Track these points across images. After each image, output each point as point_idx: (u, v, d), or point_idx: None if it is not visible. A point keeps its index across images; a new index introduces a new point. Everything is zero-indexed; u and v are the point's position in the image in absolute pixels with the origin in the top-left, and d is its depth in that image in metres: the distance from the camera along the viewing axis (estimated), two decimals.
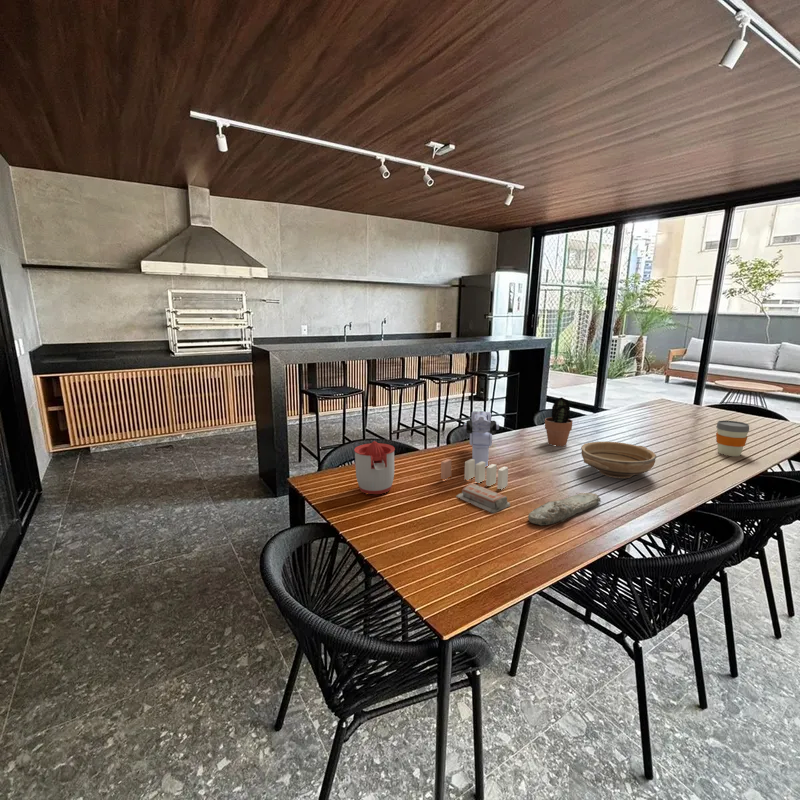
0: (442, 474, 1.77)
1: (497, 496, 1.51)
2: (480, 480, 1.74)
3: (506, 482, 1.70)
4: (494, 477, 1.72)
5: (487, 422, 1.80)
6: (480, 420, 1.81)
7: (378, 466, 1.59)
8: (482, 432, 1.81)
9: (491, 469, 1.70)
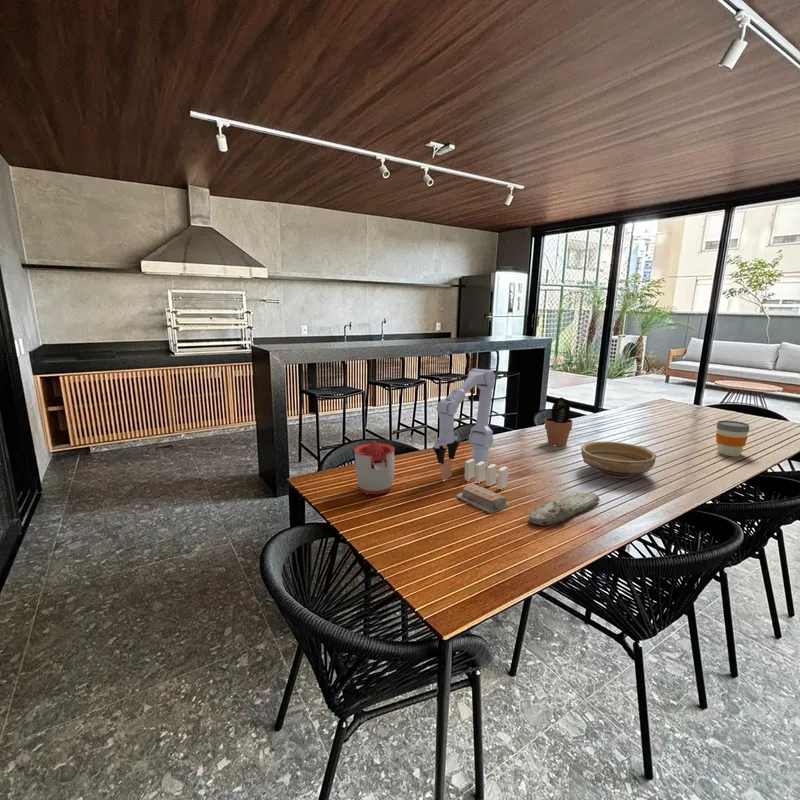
0: (442, 474, 1.77)
1: (495, 497, 1.51)
2: (480, 480, 1.74)
3: (506, 482, 1.70)
4: (494, 477, 1.72)
5: None
6: None
7: (378, 466, 1.59)
8: (450, 442, 1.74)
9: (491, 469, 1.70)
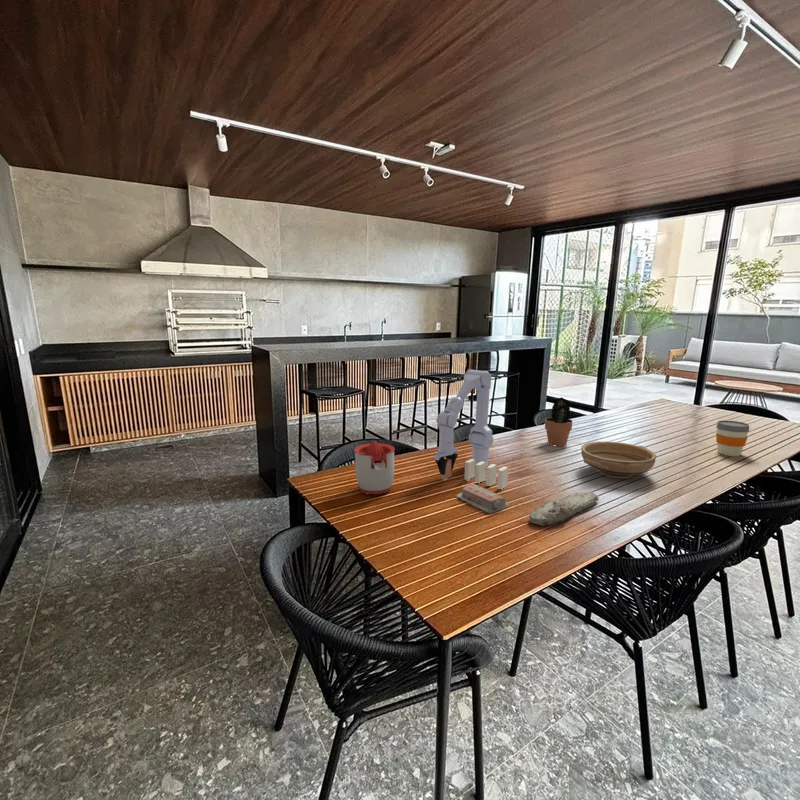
0: None
1: (495, 497, 1.51)
2: (480, 480, 1.74)
3: (506, 482, 1.70)
4: (494, 477, 1.72)
5: None
6: None
7: (378, 466, 1.59)
8: (450, 454, 1.75)
9: (491, 469, 1.70)
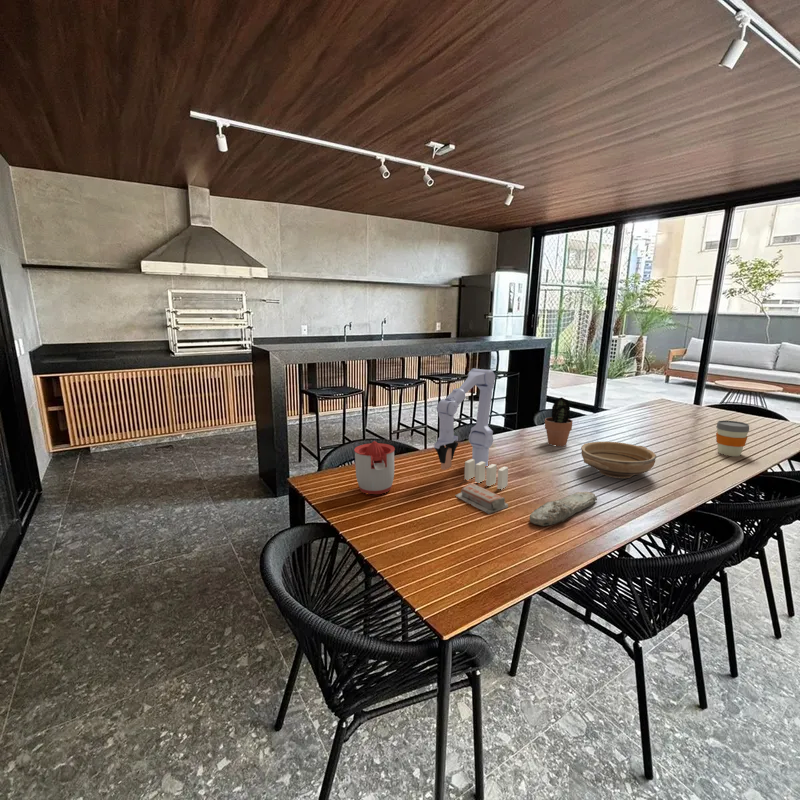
0: (442, 463, 1.76)
1: (494, 497, 1.50)
2: (480, 480, 1.74)
3: (506, 482, 1.70)
4: (494, 477, 1.72)
5: None
6: None
7: (378, 466, 1.59)
8: (451, 442, 1.74)
9: (491, 469, 1.70)
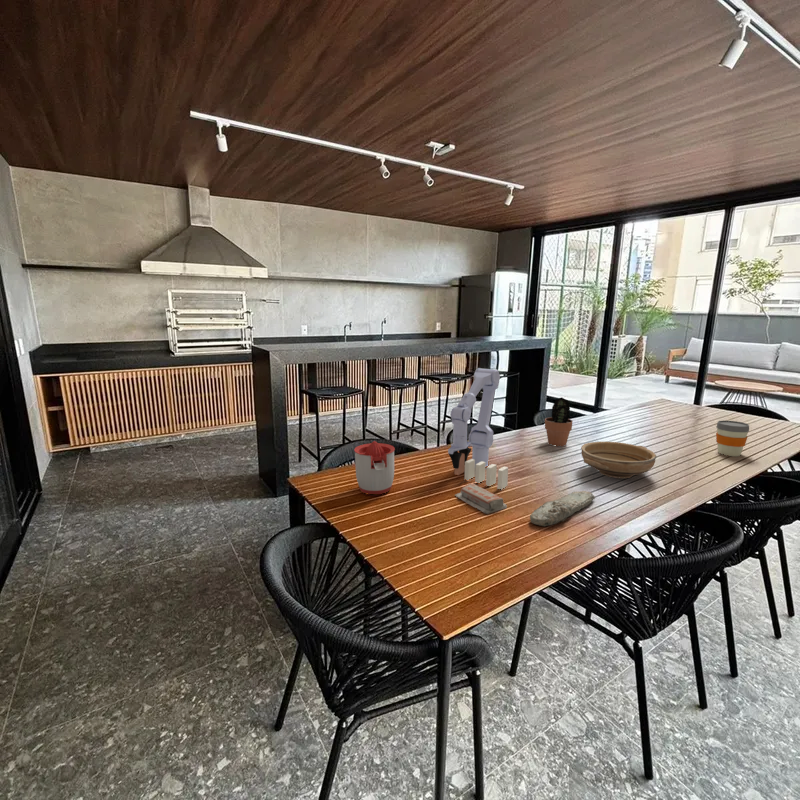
0: (455, 468, 1.80)
1: (492, 498, 1.50)
2: (480, 480, 1.74)
3: (506, 482, 1.70)
4: (494, 477, 1.72)
5: None
6: None
7: (378, 466, 1.59)
8: (464, 448, 1.78)
9: (491, 469, 1.70)
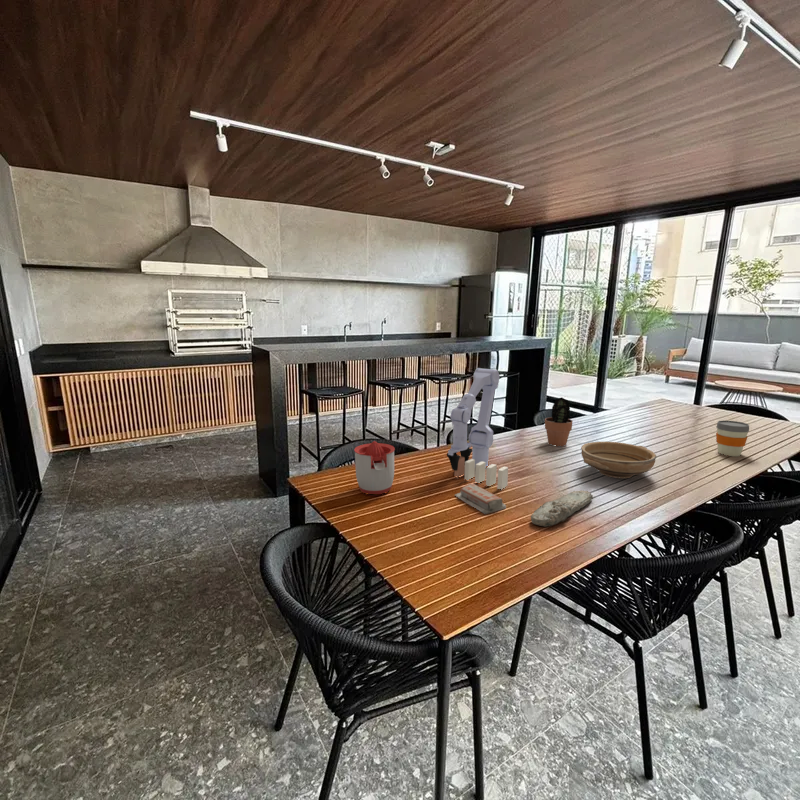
0: (455, 472, 1.80)
1: (491, 498, 1.50)
2: (480, 480, 1.74)
3: (506, 482, 1.70)
4: (494, 477, 1.72)
5: None
6: None
7: (378, 466, 1.59)
8: (464, 449, 1.78)
9: (491, 469, 1.70)
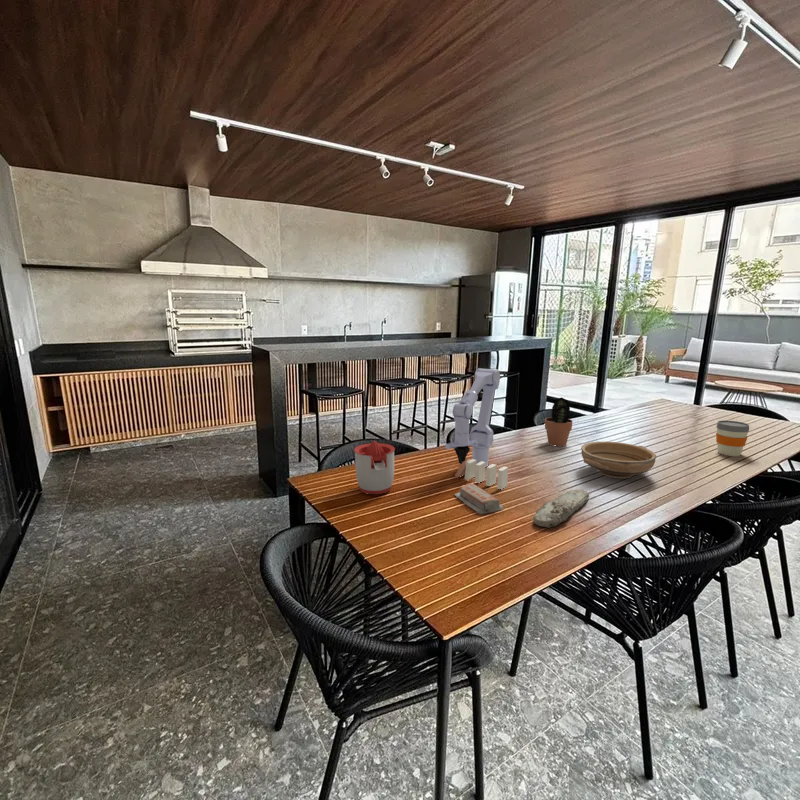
0: (458, 472, 1.79)
1: (488, 498, 1.49)
2: (480, 480, 1.74)
3: (506, 482, 1.70)
4: (494, 477, 1.72)
5: None
6: None
7: (378, 466, 1.59)
8: (463, 446, 1.76)
9: (491, 469, 1.70)
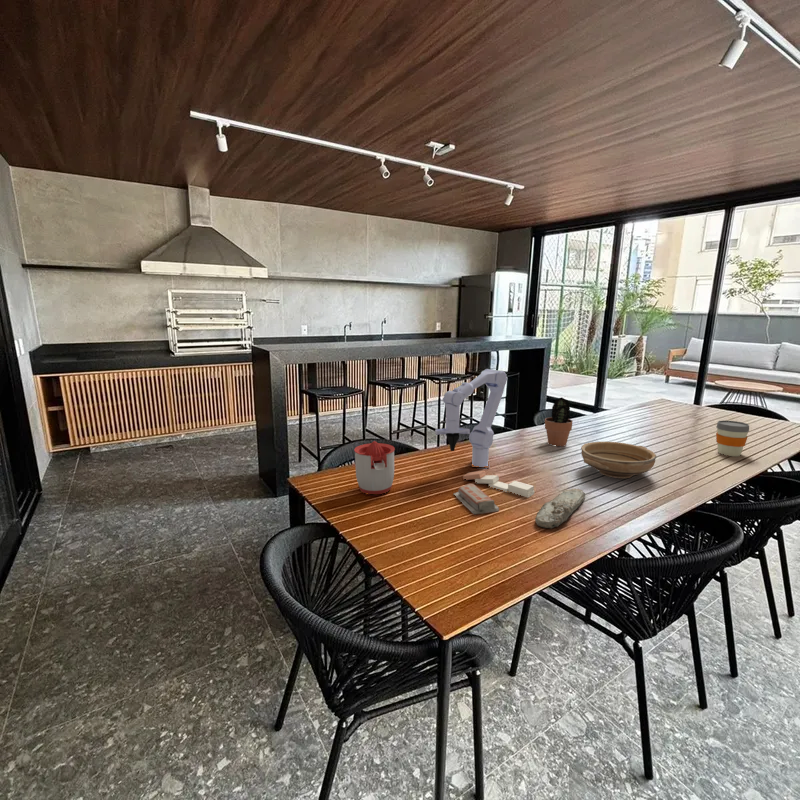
0: (468, 477, 1.76)
1: (483, 499, 1.49)
2: None
3: None
4: None
5: None
6: None
7: (378, 466, 1.59)
8: (452, 432, 1.80)
9: None
